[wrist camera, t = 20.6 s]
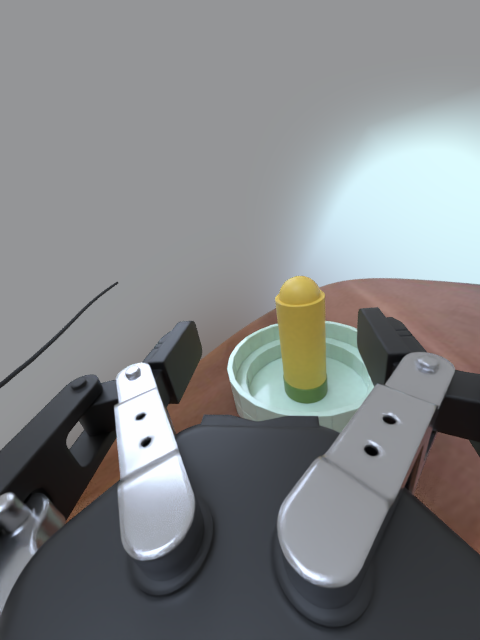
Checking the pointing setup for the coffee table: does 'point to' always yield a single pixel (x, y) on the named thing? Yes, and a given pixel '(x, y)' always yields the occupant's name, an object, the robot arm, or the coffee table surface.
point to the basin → (268, 385)
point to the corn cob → (302, 339)
